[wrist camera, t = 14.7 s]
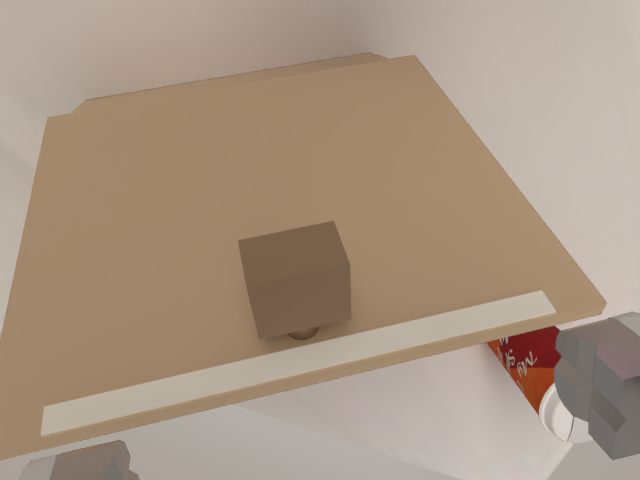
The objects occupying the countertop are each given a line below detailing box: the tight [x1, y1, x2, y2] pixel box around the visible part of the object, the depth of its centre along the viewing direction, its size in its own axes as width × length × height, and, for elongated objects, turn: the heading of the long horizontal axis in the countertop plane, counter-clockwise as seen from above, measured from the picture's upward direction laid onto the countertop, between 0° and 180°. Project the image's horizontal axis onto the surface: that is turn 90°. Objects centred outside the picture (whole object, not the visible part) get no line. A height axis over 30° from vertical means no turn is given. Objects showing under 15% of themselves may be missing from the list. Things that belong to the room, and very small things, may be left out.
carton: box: [72, 52, 388, 113], centre depth 42 cm, size 22×20×10 cm
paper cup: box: [487, 326, 593, 443], centre depth 51 cm, size 8×8×14 cm
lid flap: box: [0, 55, 607, 460], centre depth 24 cm, size 22×20×5 cm
